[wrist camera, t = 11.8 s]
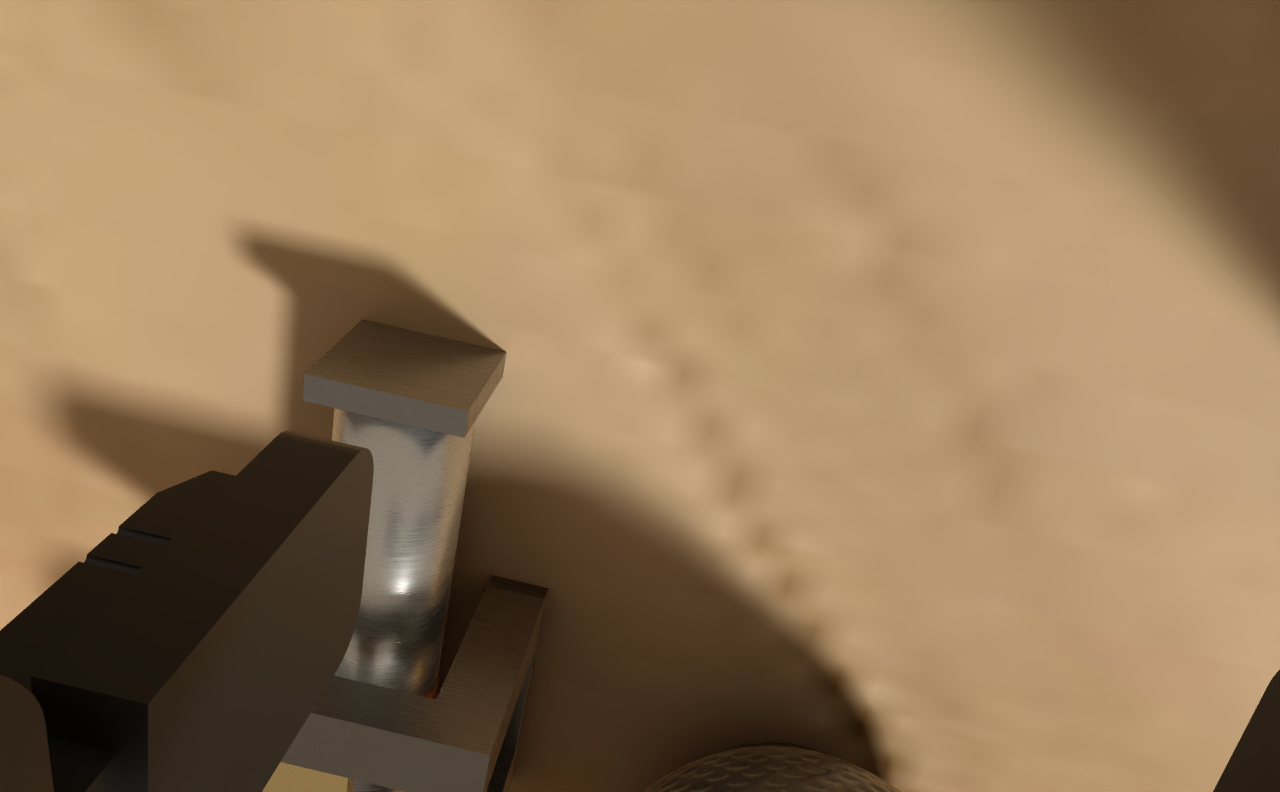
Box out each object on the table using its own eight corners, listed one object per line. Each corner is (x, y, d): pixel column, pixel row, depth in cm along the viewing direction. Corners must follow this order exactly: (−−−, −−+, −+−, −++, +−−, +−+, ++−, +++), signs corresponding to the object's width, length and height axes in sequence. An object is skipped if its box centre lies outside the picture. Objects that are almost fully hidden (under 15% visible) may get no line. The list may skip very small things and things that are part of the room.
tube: (506, 352, 41) (468, 411, 36) (438, 791, 50) (399, 888, 45) (362, 319, 42) (304, 373, 36) (319, 762, 50) (268, 856, 45)
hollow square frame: (548, 588, 45) (490, 755, 36) (511, 779, 49) (450, 972, 40) (261, 521, 46) (132, 670, 36) (249, 717, 50) (130, 894, 41)
